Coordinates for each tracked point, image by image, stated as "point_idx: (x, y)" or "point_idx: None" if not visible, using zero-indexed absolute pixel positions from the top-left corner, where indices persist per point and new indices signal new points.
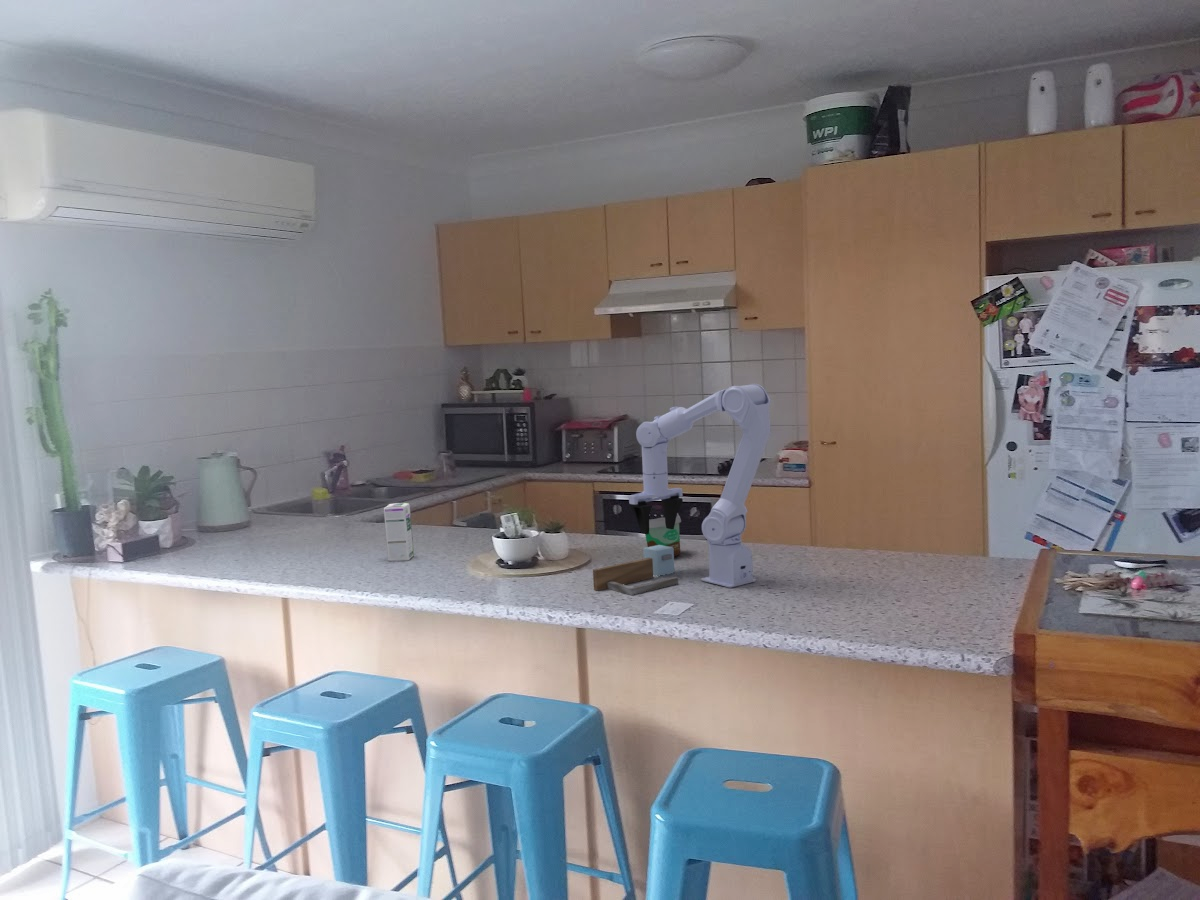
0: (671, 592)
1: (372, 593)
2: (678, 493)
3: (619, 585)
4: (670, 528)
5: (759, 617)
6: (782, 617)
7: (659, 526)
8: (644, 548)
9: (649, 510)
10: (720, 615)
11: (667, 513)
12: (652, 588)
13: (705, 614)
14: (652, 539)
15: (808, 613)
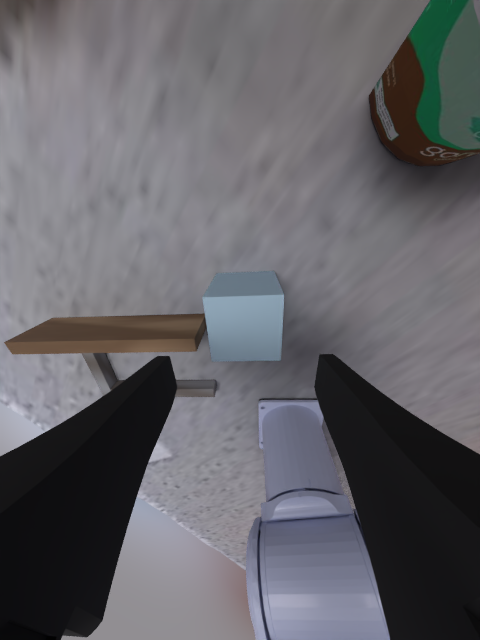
0: (177, 411)
1: None
2: None
3: (90, 369)
4: (316, 381)
5: (200, 504)
6: (217, 512)
7: None
8: (203, 304)
9: (107, 558)
10: (172, 487)
11: (359, 436)
12: None
13: (160, 479)
14: (428, 69)
15: (245, 517)
